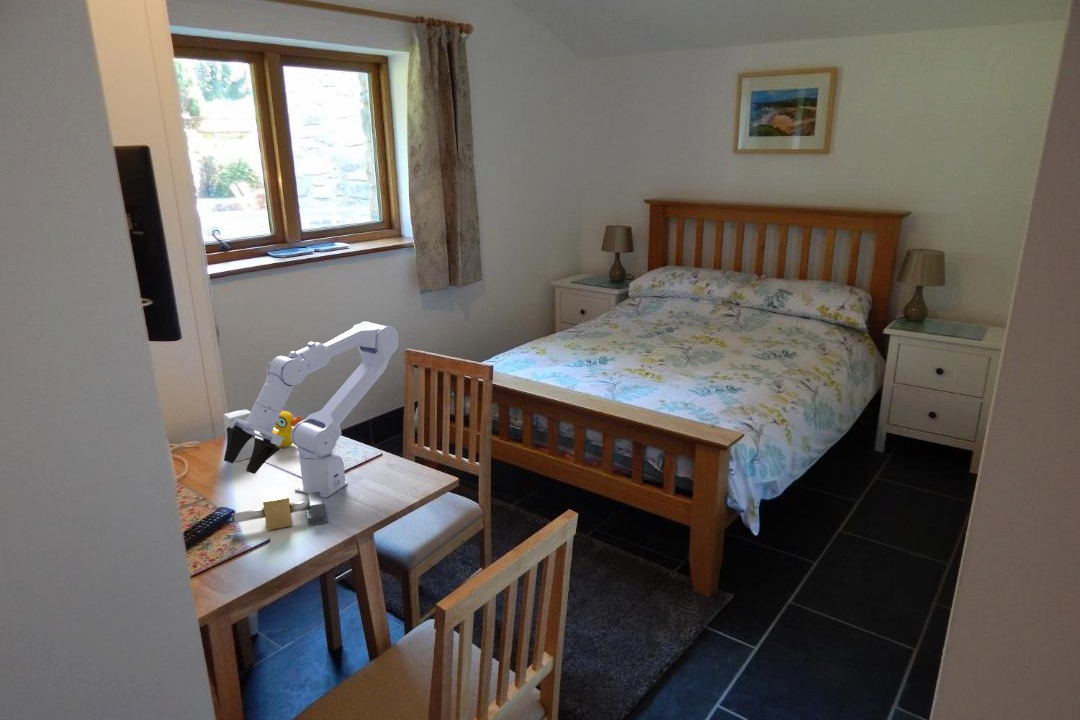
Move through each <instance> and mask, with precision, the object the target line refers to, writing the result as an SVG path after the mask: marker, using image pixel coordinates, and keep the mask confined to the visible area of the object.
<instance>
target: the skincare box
mask: <svg viewBox="0 0 1080 720" xmlns="http://www.w3.org/2000/svg"><path fill="white" fill-rule="evenodd" d="M250 412H251V410H249V409H246V408H244V409H241V410H240V409H239V410H234V411H231V412H226V413H223V414H222V415H223V416H222V417H223V422H224V430H225V436H226V437H225V438H226V439H227V428H228V427H230V428H233V427H234V426H231V423H232V421H233V419H234V417H235V418H238V419H241V420H243V421H245V422H246V420H247V418H248V416H249V414H250ZM248 430H249V429H248ZM249 431H252V430H249ZM252 432H254V433H255V430H253V431H252ZM247 433H248V432H247ZM255 438H256V436H255V435H253V436H252V437H251V438H250V439H249V440H248V442H247V443H246V444H245V445H244V446H243V448H242V449H241V451H240V453H239V455H238V456H237V458H236V460H235V461H234V462H233V463H237V462H240V461H243V460H248V459H250V458H251V456H252V453H253V449H254V442H255ZM247 458H248V459H247Z"/></svg>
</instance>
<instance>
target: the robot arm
mask: <svg viewBox="0 0 1080 720" xmlns="http://www.w3.org/2000/svg"><path fill="white" fill-rule="evenodd" d="M306 345H307V346H305V347H303V348H300V349H298V350H296V351H294V350H292V351H290V352H289V353H288V355H287V356H286V355H285V356H284V355H277V356H276V357H274V358H273V359H272V360H271V361H270V362H268V363H267V364H266V377H265V380H264V384H263V386H262V388H261V390H260V391H259V394H258V396H257V398H256V400H255V402H254V404H253V406H252V409H251V410H250V414H249V416H248V418H247V420H246V422H245V421H243V420H241V419H238V418H235V417H234V419H233V421H232V423H231V426H234V427H233V428H230V427H228V428H227V438H226V448H225V454H224V457H223V461H224V462H227V463H229V464H230V463H231V464H234V463H235V462H234V461H235V460H236V458H237V456H238V455H239V453H240V451H241V449H242V448H243V446H244V445H245V444H246V443H247V442H248V440H249V439H250V438H251V437H252V436H253V435H255V442H254V449H253V453H252V456H251V458H249V461H248V463H247V466H246V469H245V472H247V473H250V474H254V475H255V474H256V473H257V472H258V471H259V470H260V468H261V467H262V466H263V465H264V464H265V463H266V462H267V461H268V460H269V459H270V458H271V457H272V456H274V455H275V453H277V452H279V451H280V449H281V447H276V445H278V446H280V445H281V442H282V440H283V437H281V436H279V435H276V434H274V433H272V430H274V428H275V427H274V426H275V424H276V422H277V420H278V418H279V416H280V413H281V412H282V411H283V409H284V407H285V405H286V403H287V402H288V399H289V396H290V394H291V393H292V391H293V389H294V386H298V385H301V383H302V382H303V381H304V380H305V378H306V377H307V375H309V374H311V373H313V372H315V371H317V370H320V369H321V368H323V367H324V368H325V367H326V366H327V365H329V363H330V360H331V358H332V357H335V356H337V355H340V354H342V353H345V352H347V351H349V350H352V349H354V348H356V347H357V348H358V352H359V354H360V357H361V363H360V365H359V366H358V367H357V368H356V369H355V370H354V371H353V372H352V373H351V375H350V376H349V377H348V378H347V379H346V381H345V382H344V383H343V384H342V385H341V387H339V389H337V391H336V392H335V393H334V395H333V396H331V398H330V399H329V400H328V401H327V403H326V404H325V405H324V406H323V408H322V409H321V410H318V411H315V412H313V413H310V414H308V415H307V417H306V418H305V419H303V420H301V422H299V423H297V424H296V425H295V426H293V427H292V428H293V430H292V433H291V440H292V442H293V443H292V445H295V446H296V447H297V451H298V458H299V463H300V464H299V466H300V471H301V472H300V473H301V480H302V484H300V485H298V486H296V487H295V488H294V491H296V492H301V493H305V494H308V493H313V492H319V491H320V496H321V498H328V497H329V496H331V495H333V494H334V493H337V491H339V490H341V489H342V488H343V487H345V486H346V485H348V483H349V482H348V481H346V475H345V473H346V472H345V465H344V461H343V458H342V457H341V456H339V455H338V454H336V453H334V449H335V448H336V445H337V442H338V440H339V438H341V436H342V429H341V423H342V422H343V421H344V420H345V419H346V418H347V417H348V415H349V414H350V413H351V411H353V409H354V408H355V407H356V406H357V405H358V403H360V401H361V399H362V398H363V397H364V396H365V395H366V394H367V392H368V391H369V390H370V389H371V388H372V387H373V386H374V384H375V383H376V382H377V381H378V380H379V378H380V377H381V376H382V375H383V373H384V372H385V370H386V369H387V367H388V365H389V361H390V359H391V357H392V355H393V354H394V353H395V352H396V350H397V349H398V348H399V333H398V330H397V329H396V328H395V327H394V326H391V325H382V324H380V323H379V324H378V323H374V322H371V321H368V320H365V321H362V322H359V323H357V324H354V325H353V327H352V328H351V329H349V330H347V331H345V332H343V333H341V334H339V335H338V336H336V337H334V338H333V339H331V340H329V341H327V342H325V343H320V342H313V341H309V342H308V343H307V344H306ZM248 429H249V430H252V431H253V430H254V432H255V431H256V433H254V432H252V431H249V430H248ZM247 432H248V433H247ZM257 432H259V433H257ZM262 435H263V436H264V437H263V436H262Z"/></svg>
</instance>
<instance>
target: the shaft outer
mask: <svg viewBox="0 0 1080 720" xmlns="http://www.w3.org/2000/svg"><path fill="white" fill-rule="evenodd" d="M264 518H265V512H264V507H263V508H258V509H257V508H256V509H252V510H246V511H241V512H240V511H239V512H234V513H233V512H232V513H231V523H232V524H237V523H242V522H248V521H253V520H254V521H255V520H259V519H264Z"/></svg>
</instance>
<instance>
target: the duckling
mask: <svg viewBox="0 0 1080 720" xmlns="http://www.w3.org/2000/svg"><path fill="white" fill-rule="evenodd" d="M302 419H303V418H302V416H301V415H298V416H297V417H296V418H294V416H293V414H292V413H291V412H289V411H286V410H282V412H281V413H280V416H279V418H278V420H277V422H276V424H275V426H274V428H275V429H276V430H275V429H273V430H272V433H274V434H276V435H279V436H281V437H283V440H282V442H281V445H280V446H278V445H276V447H279V448H283V449H284V448H285V449H286V448H288V447H291V445H293V442H292V440H291V433H292V430H293V428H294V426H295V425H296V424H297V423H299V422H301V421H303V420H302ZM261 436H263V435H261ZM263 437H264V436H263Z"/></svg>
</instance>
